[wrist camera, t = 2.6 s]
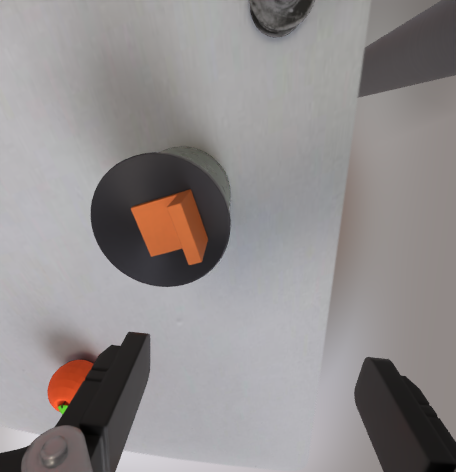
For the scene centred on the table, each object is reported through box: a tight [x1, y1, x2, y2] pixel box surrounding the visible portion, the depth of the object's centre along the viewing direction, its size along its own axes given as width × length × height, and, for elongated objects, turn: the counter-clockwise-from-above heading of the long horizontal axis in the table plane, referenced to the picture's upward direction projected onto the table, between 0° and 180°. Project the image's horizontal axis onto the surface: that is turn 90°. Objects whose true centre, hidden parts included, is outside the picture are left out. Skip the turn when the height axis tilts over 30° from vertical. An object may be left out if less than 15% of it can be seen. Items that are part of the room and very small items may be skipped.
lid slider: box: [131, 189, 208, 265], centre depth 22 cm, size 5×4×4 cm
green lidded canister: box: [91, 147, 231, 287], centre depth 30 cm, size 12×12×12 cm
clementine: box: [48, 360, 93, 414], centre depth 43 cm, size 8×7×7 cm
